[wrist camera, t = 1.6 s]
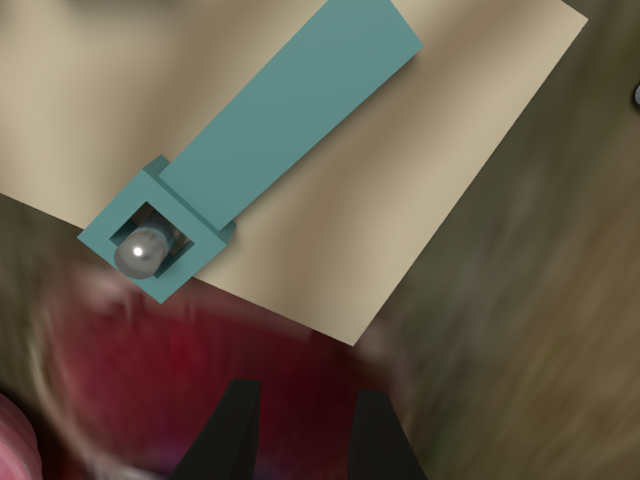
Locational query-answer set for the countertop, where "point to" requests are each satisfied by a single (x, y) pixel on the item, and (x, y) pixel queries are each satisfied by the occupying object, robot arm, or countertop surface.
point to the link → (259, 135)
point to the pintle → (146, 247)
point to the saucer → (17, 445)
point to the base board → (305, 174)
